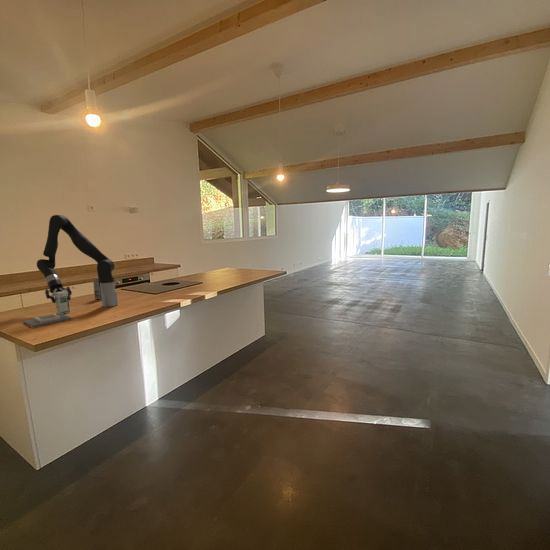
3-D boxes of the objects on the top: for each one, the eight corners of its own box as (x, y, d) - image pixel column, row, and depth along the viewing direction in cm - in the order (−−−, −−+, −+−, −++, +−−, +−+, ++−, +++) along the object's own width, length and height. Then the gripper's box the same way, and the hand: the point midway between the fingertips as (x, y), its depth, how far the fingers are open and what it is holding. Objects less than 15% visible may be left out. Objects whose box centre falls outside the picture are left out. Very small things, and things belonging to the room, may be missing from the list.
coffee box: (101, 300, 254) (99, 279, 252) (94, 299, 255) (92, 279, 253) (109, 297, 263) (107, 277, 261) (103, 297, 264) (100, 277, 262)
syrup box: (60, 314, 212) (58, 293, 210) (56, 313, 215) (53, 292, 213) (70, 312, 217) (67, 291, 215) (65, 311, 220) (63, 290, 218)
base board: (61, 315, 210) (60, 311, 210) (71, 319, 199) (71, 315, 199) (23, 322, 195) (22, 318, 195) (32, 327, 184) (32, 323, 183)
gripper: (42, 280, 212) (50, 299, 207) (66, 277, 223) (75, 295, 218) (40, 287, 216) (48, 306, 211) (64, 284, 227) (73, 302, 222)
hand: (62, 301), depth 214 cm, fingers open, 8 cm apart
